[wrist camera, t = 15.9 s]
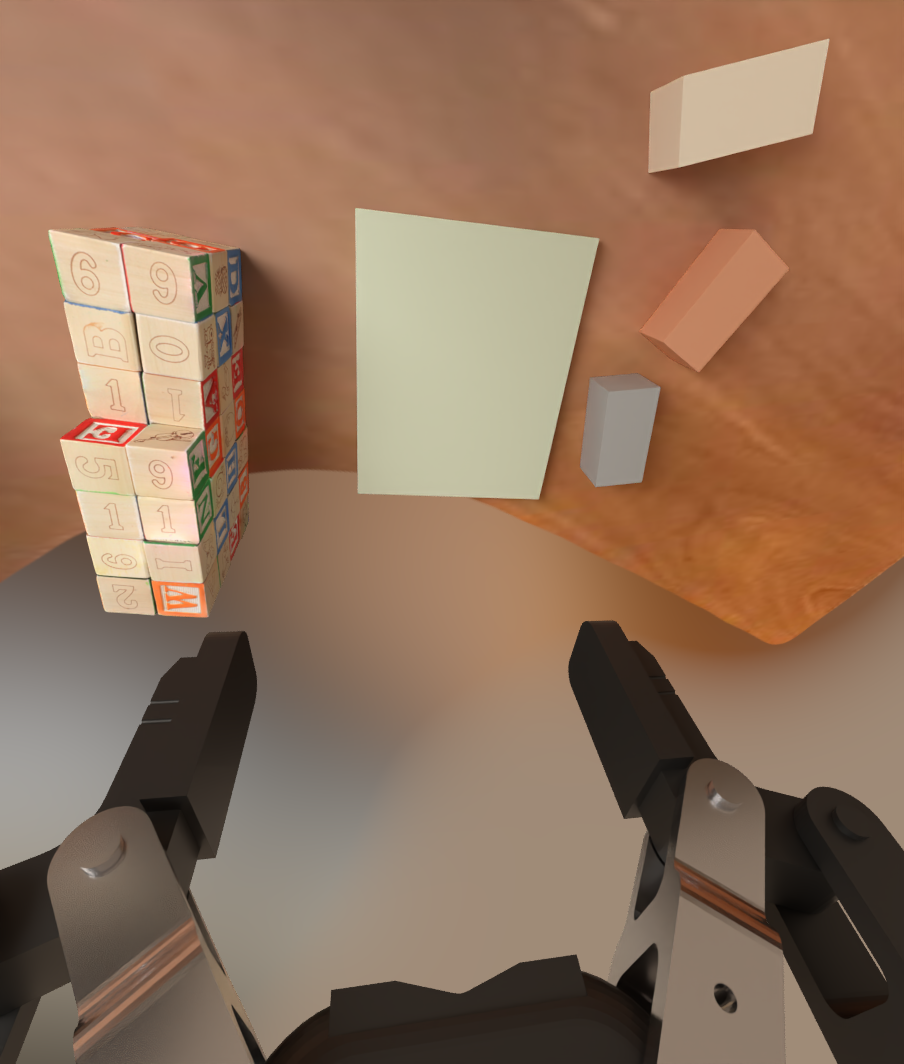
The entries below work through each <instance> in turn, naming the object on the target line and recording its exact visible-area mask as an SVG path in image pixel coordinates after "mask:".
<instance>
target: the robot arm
mask: <svg viewBox="0 0 904 1064" xmlns="http://www.w3.org/2000/svg"><path fill="white" fill-rule="evenodd" d="M568 668H569V671H568V672H569V680H570V684H571V687H572V690H573V692H574V695H575V697H576V700H577V702H578V705H579V707H580V710H581V712H582V715H583V717H584V720H585V722H586V724H587V727H588V730H589V732H590V735H591V737H592V740H593V742H594V745H595V747H596V750H597V752H598V755H599V757H600V760H601V762H602V765H603V767H604V770H605V772H606V775H607V777H608V780H609V782H610V785H611V787H612V790H613V792H614V795H615V797H616V800H617V802H618V805H619V808H620V810H621V812H622V815H623V817H624V819H627V818H638V817H642V818H643V821H644V823H645V825H646V828H647V831H646V833H645V836H644V839H643V844H642V849H641V854H640V858H639V863H638V868H637V873H636V877H635V882H634V887H633V892H632V896H631V901H630V906H629V911H628V916H627V920H626V924H625V927H624V930H623V933H622V936H621V938H620V940H619V942H618V945H617V947H616V951H615V954H614V956H613V960H612V964H611V968H610V972H609V976H608V981H605V980H603V979H601V978H599V977H597V976H594V975H592V974H589V973H587V972H583V971H581V970H580V966H579V962H578V958H577V955H570V956H563V957H556V958H549V959H542V960H535V961H529V962H522V963H519V964H517V965H515V966H513V967H511V968H509V969H508V970H506V971H504V972H502V973H500V974H499V975H497V976H495V977H493V978H491V979H489V980H488V981H486V982H484V983H482V984H480V985H478V986H476V987H475V988H473V989H471V990H469V991H467V992H465V993H461V994H456V993H450V992H445V991H440V990H436V989H431V988H427V987H422V986H417V985H412V984H407V983H403V982H398V981H391V982H384V983H377V984H370V985H364V986H357V987H349V988H343V989H336V990H331V1003H330V1006H329V1007H327V1008H326V1009H323V1010H322V1011H320V1012H318V1013H316V1014H315V1015H314V1016H312V1017H311V1018H309V1019H308V1020H306V1021H305V1022H304V1023H302V1024H301V1025H300V1026H299V1027H297V1028H296V1029H295V1030H294V1031H293V1032H292V1033H291V1034H290V1035H289V1036H287V1037H286V1039H285V1040H284V1041H283V1042H282V1043H281V1044H280V1045H279V1046H278V1047H277V1048H276V1049H275V1051H274V1052H273V1053H272V1054H271V1055H270V1056H269V1058H268V1059H267V1058H266V1056H265V1054H264V1052H263V1049H262V1047H261V1045H260V1043H259V1040H258V1038H257V1036H256V1034H255V1031H254V1029H253V1027H252V1025H251V1022H250V1020H249V1018H248V1016H247V1014H246V1011H245V1009H244V1008H243V1005H242V1003H241V1001H240V999H239V997H238V995H237V993H236V991H235V989H234V987H233V985H232V983H231V981H230V979H229V976H228V974H227V972H226V970H225V967H224V965H223V963H222V961H221V959H220V956H219V954H218V952H217V949H216V947H215V945H214V943H213V940H212V938H211V936H210V933H209V931H208V929H207V926H206V924H205V922H204V920H203V918H202V915H201V913H200V911H199V908H198V906H197V904H196V902H195V899H194V897H193V895H192V893H191V890H190V888H189V886H190V882H191V879H192V876H193V872H194V869H195V865H196V861H197V860H199V859H208V858H215V857H216V854H217V850H218V846H219V842H220V838H221V835H222V831H223V827H224V823H225V819H226V815H227V811H228V806H229V803H230V799H231V795H232V791H233V787H234V783H235V779H236V775H237V771H238V767H239V763H240V759H241V755H242V751H243V747H244V743H245V739H246V736H247V732H248V728H249V724H250V720H251V716H252V712H253V708H254V704H255V699H256V692H257V676H256V671H255V666H254V662H253V658H252V653H251V649H250V645H249V641H248V636H247V634H246V632H245V631H238V632H210V633H208V634H207V635H206V637H205V638H204V641H203V643H202V646H201V648H200V650H199V653H198V656H197V657H191V658H190V657H188V658H180V659H179V660H178V661H177V662H176V663H175V664H174V665H173V666H172V667H171V668H170V669H169V670H168V672H167V673H166V674H165V675H164V676H163V677H162V678H161V680H160V682H159V684H158V686H157V688H156V690H155V693H154V695H153V697H152V699H151V704H150V705H149V706H148V707H147V710H146V712H145V714H144V716H143V718H142V724H141V725H139V727H138V729H137V731H136V733H135V735H134V738H133V740H132V742H131V744H130V746H129V748H128V751H127V753H126V755H125V757H124V759H123V761H122V763H121V766H120V768H119V770H118V772H117V774H116V776H115V778H114V781H113V783H112V785H111V787H110V789H109V791H108V794H107V796H106V798H105V800H104V801H103V803H102V805H101V807H100V808H99V810H98V811H97V812H96V814H95V815H94V816H92V817H91V818H89V819H88V820H86V821H85V822H83V823H82V824H81V825H79V826H78V827H77V828H76V829H75V830H74V831H72V832H71V833H70V835H68V837H67V838H66V839H65V840H64V841H63V843H62V844H61V845H59V846H57V847H56V848H53V849H52V850H50V851H47V852H45V853H43V854H41V855H38V856H36V857H33V858H30V859H28V860H25V861H23V862H20V863H18V864H15V865H12V866H10V867H7V868H5V869H2V870H0V1064H16V1061H17V1058H18V1056H19V1053H20V1050H21V1048H22V1045H23V1043H24V1040H25V1037H26V1035H27V1032H28V1030H29V1027H30V1024H31V1022H32V1019H33V1016H34V1014H35V1011H36V1009H37V1006H38V1003H39V1001H40V998H41V996H43V995H45V994H47V993H49V992H51V991H53V990H55V989H57V988H59V987H61V986H63V985H65V984H67V983H69V982H71V984H72V987H73V991H74V996H75V1000H76V1004H77V1008H78V1014H79V1023H78V1026H77V1027H76V1029H75V1031H74V1037H73V1047H74V1055H75V1062H76V1064H786V1060H785V1014H784V969H783V954H784V956H785V958H786V961H787V963H788V965H789V967H790V969H791V971H792V973H793V975H794V976H795V979H796V981H797V983H798V985H799V987H800V989H801V991H802V992H803V995H804V997H805V999H806V1001H807V1003H808V1005H809V1007H810V1009H811V1011H812V1013H813V1015H814V1017H815V1019H816V1021H817V1023H818V1025H819V1027H820V1029H821V1031H822V1033H823V1035H824V1037H825V1039H826V1041H827V1043H828V1045H829V1047H830V1049H831V1051H832V1053H833V1055H834V1057H835V1059H836V1061H837V1064H904V851H903V849H902V848H901V847H900V845H899V844H898V843H897V841H896V840H895V839H894V837H893V836H892V835H891V833H890V832H889V831H888V830H887V828H886V827H885V826H884V824H883V823H882V822H881V821H880V819H879V818H878V817H877V816H876V815H875V814H874V813H873V812H872V811H871V810H870V809H869V808H867V807H866V806H865V805H864V804H863V803H861V802H860V801H859V800H857V799H855V798H854V797H852V796H851V795H849V794H847V793H845V792H843V791H840V790H837V789H834V788H830V787H817V788H815V789H813V790H812V791H810V792H809V793H808V794H807V795H806V797H804V798H803V799H801V798H797V797H793V796H789V795H785V794H781V793H777V792H773V791H769V790H765V789H762V788H758V787H755V786H754V785H753V784H752V782H751V781H750V780H749V779H748V778H747V777H746V776H745V775H744V774H743V773H741V772H740V771H739V770H737V769H736V768H735V767H733V766H731V765H729V764H728V763H725V762H723V761H720V760H718V759H717V758H716V757H715V755H714V754H713V752H712V751H711V749H710V747H709V746H708V744H707V742H706V741H705V739H704V738H703V736H702V734H701V733H700V731H699V729H698V728H697V726H696V724H695V723H694V721H693V720H692V718H691V716H690V715H689V713H688V711H687V710H686V708H685V706H684V705H683V703H682V702H681V700H680V698H679V697H678V695H676V694H675V690H674V688H673V687H672V685H671V684H670V682H669V680H668V679H666V677H665V674H664V672H663V670H662V669H661V667H660V665H659V664H658V662H657V660H656V659H655V657H654V656H653V655H651V654H650V653H649V652H648V651H647V650H646V649H645V648H644V647H643V646H642V645H641V644H639V643H638V642H637V641H628V639H627V638H626V636H625V634H624V632H623V631H622V629H621V627H620V626H619V624H618V623H617V622H615V621H585V622H583V623H582V625H581V627H580V630H579V633H578V636H577V639H576V642H575V645H574V648H573V651H572V655H571V658H570V661H569V667H568ZM838 900H840V902H841V904H842V906H843V907H844V909H845V910H846V912H847V914H848V915H849V917H850V919H851V920H852V922H853V923H854V925H855V927H856V928H857V930H858V932H859V933H860V935H861V937H862V938H863V940H864V942H865V943H866V945H867V946H868V948H869V949H870V951H871V953H872V954H873V956H874V958H875V959H876V961H877V963H878V964H879V966H880V968H881V969H882V971H883V974H884V976H885V978H886V980H885V979H884V977H883V975H882V974H881V972H880V970H879V969H878V967H877V966H876V964H875V962H874V961H873V959H872V957H871V956H870V954H869V952H868V951H867V949H866V948H865V946H864V944H863V943H862V941H861V939H860V938H859V936H858V934H857V933H856V931H855V930H854V928H853V926H852V925H851V923H850V922H849V920H848V918H847V917H846V915H845V913H844V912H843V910H842V908H841V907H840V905H839V903H838V902H837V901H838ZM766 920H767V921H766ZM767 922H768V923H767ZM886 981H887V982H886Z"/></svg>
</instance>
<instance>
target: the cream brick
mask: <svg viewBox="0 0 904 1064" xmlns="http://www.w3.org/2000/svg"><path fill="white" fill-rule="evenodd" d="M828 45H829V39H826V40H822V41H818V42H814V43H810V44H806V45H802V46H798V47H794V48H791V49H787V50H783V51H779V52H775V53H771V54H767V55H763V56H759V57H755V58H751V59H748V60H744V61H740V62H736V63H732V64H728V65H724V66H720V67H716V68H712V69H708V70H704V71H701V72H697V73H693V74H689V75H685V76H682V77H680V78H678V79H676V80H674V81H672V82H670V83H668V84H666V85H664V86H662V87H660V88H658V89H656V90H653V91H651V92H650V129H649V166H648V173H652V172H657V171H663V170H668V169H674V168H679V167H683V166H687V165H691V164H695V163H699V162H703V161H707V160H711V159H715V158H719V157H723V156H727V155H731V154H735V153H739V152H743V151H747V150H750V149H754V148H758V147H762V146H766V145H770V144H774V143H778V142H782V141H786V140H790V139H794V138H798V137H802V136H806V135H810V134H813V128H814V123H815V117H816V112H817V106H818V100H819V95H820V89H821V84H822V78H823V73H824V67H825V61H826V56H827V50H828Z"/></svg>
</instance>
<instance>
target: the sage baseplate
mask: <svg viewBox="0 0 904 1064" xmlns="http://www.w3.org/2000/svg"><path fill="white" fill-rule="evenodd" d="M355 221H356V342H357V462H358V494H385V495H417V496H418V495H419V496H449V497H481V498H513V499H539V497H540V492H541V488H542V484H543V480H544V475H545V471H546V467H547V462H548V458H549V454H550V449H551V445H552V441H553V436H554V432H555V428H556V423H557V419H558V415H559V410H560V406H561V402H562V398H563V393H564V389H565V385H566V380H567V376H568V372H569V367H570V363H571V359H572V354H573V350H574V346H575V341H576V337H577V333H578V328H579V324H580V320H581V316H582V311H583V307H584V303H585V298H586V294H587V290H588V285H589V281H590V277H591V272H592V268H593V264H594V259H595V255H596V251H597V246H598V242H599V238H593V237H585V236H577V235H568V234H560V233H552V232H544V231H536V230H528V229H520V228H512V227H504V226H496V225H488V224H480V223H472V222H464V221H456V220H448V219H440V218H432V217H424V216H416V215H408V214H400V213H392V212H384V211H376V210H368V209H360V208H355Z"/></svg>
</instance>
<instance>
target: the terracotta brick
mask: <svg viewBox="0 0 904 1064" xmlns="http://www.w3.org/2000/svg"><path fill="white" fill-rule="evenodd" d="M788 270H789V268H788V266H787V265H786V264H785V263H784V262H783V261H782V260H781V259H780V257H779V256H778V255H777V254H776V253H775V252H774V251H773V249H772V248H771V247H770V246H769V245H768V244H767V243H766V242H765V240H764V239H763V238H762V237H761V236H760V235H759V234H758V232H757V231H756V230H749V229H719V230H718V232H717V233H716V234H715V235H714V237H713V238H712V239H711V240H710V242H709V243H708V244H707V246H706V247H705V248H704V249H703V251H702V252H701V253H700V255H699V256H698V257H697V258H696V260H695V261H694V262H693V263H692V265H691V266H690V267H689V269H688V270H687V271H686V272H685V274H684V275H683V276H682V277H681V279H680V280H679V281H678V283H677V284H676V285H675V286H674V288H673V289H672V290H671V292H670V293H669V294H668V295H667V297H666V298H665V299H664V300H663V302H662V303H661V304H660V306H659V307H658V308H657V309H656V311H655V312H654V313H653V314H652V316H651V317H650V318H649V320H648V321H647V322H646V323H645V325H644V326H643V327H642V328H641V330H640V331H639V332H640V333H641V334H642V335H643V336H645V337H646V338H647V339H648V340H649V341H651V342H652V343H653V344H654V345H655V346H656V347H658V348H659V349H660V350H661V351H662V352H664V353H665V354H666V355H667V356H668V357H669V358H671V359H672V360H673V361H676V362H678V363H680V364H682V365H684V366H686V367H688V368H690V369H692V370H694V371H696V372H700V370H701V369H702V368H703V367H704V366H705V365H706V364H707V362H708V361H709V360H710V359H711V358H712V357H713V356H714V354H715V353H716V352H717V351H718V350H719V349H720V348H721V346H722V345H723V344H724V343H725V342H726V341H727V340H728V338H729V337H730V336H731V335H732V334H733V333H734V332H735V330H736V329H737V328H738V327H739V326H740V325H741V324H742V322H743V321H744V320H745V319H746V318H747V317H748V316H749V314H750V313H751V312H752V311H753V310H754V309H755V308H756V306H757V305H758V304H759V303H760V302H761V301H762V300H763V298H764V297H765V296H766V295H767V294H768V293H769V292H770V290H771V289H772V288H773V287H774V286H775V285H776V284H777V282H778V281H779V280H780V279H781V278H782V277H783V276H784V274H785V273H786V272H787V271H788Z"/></svg>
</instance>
